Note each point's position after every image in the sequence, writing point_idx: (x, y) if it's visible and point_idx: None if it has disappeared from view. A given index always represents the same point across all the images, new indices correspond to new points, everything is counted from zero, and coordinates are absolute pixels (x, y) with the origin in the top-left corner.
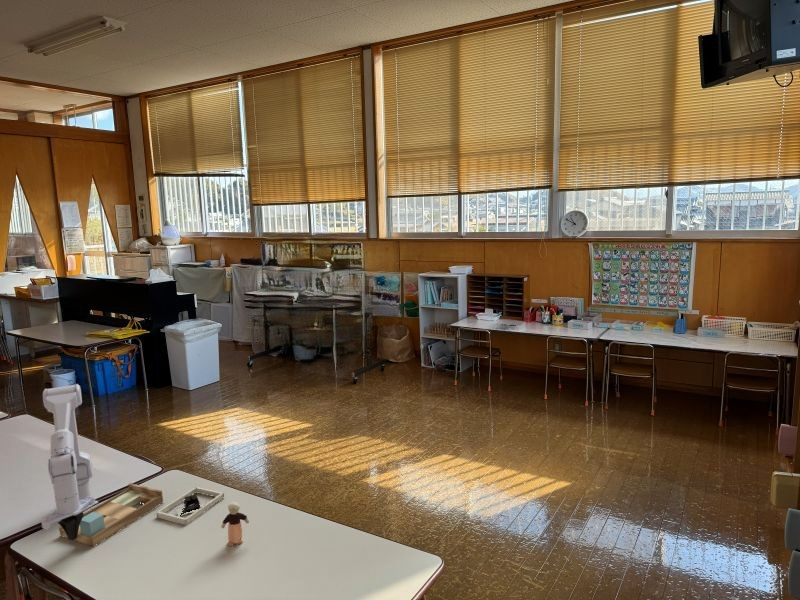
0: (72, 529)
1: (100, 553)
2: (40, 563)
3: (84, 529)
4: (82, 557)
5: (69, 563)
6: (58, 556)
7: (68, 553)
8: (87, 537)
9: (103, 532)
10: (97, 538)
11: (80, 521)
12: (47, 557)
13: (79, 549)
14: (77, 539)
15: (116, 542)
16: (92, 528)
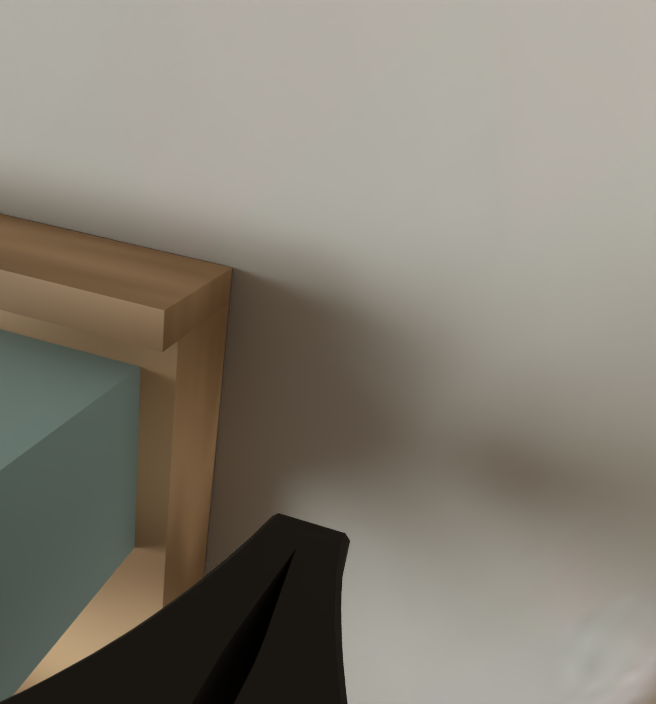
0: (298, 698)
1: (332, 39)
2: (640, 668)
3: (87, 531)
4: (465, 249)
5: (621, 333)
6: (487, 560)
7: (415, 486)
8: (171, 411)
9: (8, 259)
10: (127, 273)
11: (33, 698)
12: (520, 657)
13: (319, 411)
14: (196, 538)
15: (64, 10)
16: (31, 411)
